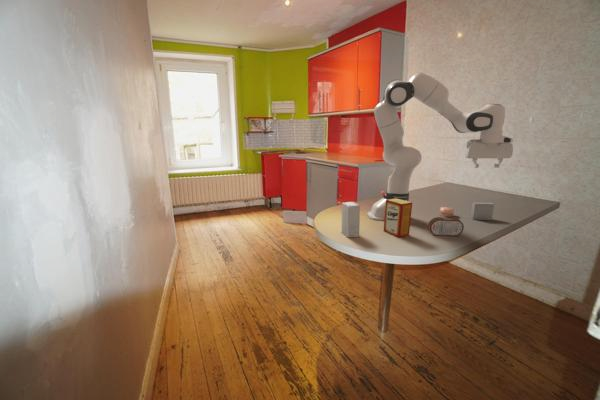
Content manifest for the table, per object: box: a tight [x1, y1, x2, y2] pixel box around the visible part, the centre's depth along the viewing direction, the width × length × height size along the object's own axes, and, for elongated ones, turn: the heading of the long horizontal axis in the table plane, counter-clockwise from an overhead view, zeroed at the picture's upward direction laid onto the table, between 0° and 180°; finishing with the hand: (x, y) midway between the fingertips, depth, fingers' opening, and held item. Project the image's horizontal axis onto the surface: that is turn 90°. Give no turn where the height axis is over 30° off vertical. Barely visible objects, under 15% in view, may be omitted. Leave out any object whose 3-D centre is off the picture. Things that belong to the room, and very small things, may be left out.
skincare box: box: [341, 201, 361, 238], centre depth 130 cm, size 8×6×15 cm
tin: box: [427, 216, 465, 237], centre depth 130 cm, size 15×3×8 cm, turn 84°
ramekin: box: [439, 206, 455, 218], centre depth 162 cm, size 7×7×4 cm
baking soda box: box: [383, 198, 413, 239], centre depth 131 cm, size 10×6×16 cm
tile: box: [470, 202, 495, 221], centre depth 155 cm, size 10×3×9 cm, turn 87°
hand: (486, 167), depth 140 cm, fingers open, 8 cm apart
